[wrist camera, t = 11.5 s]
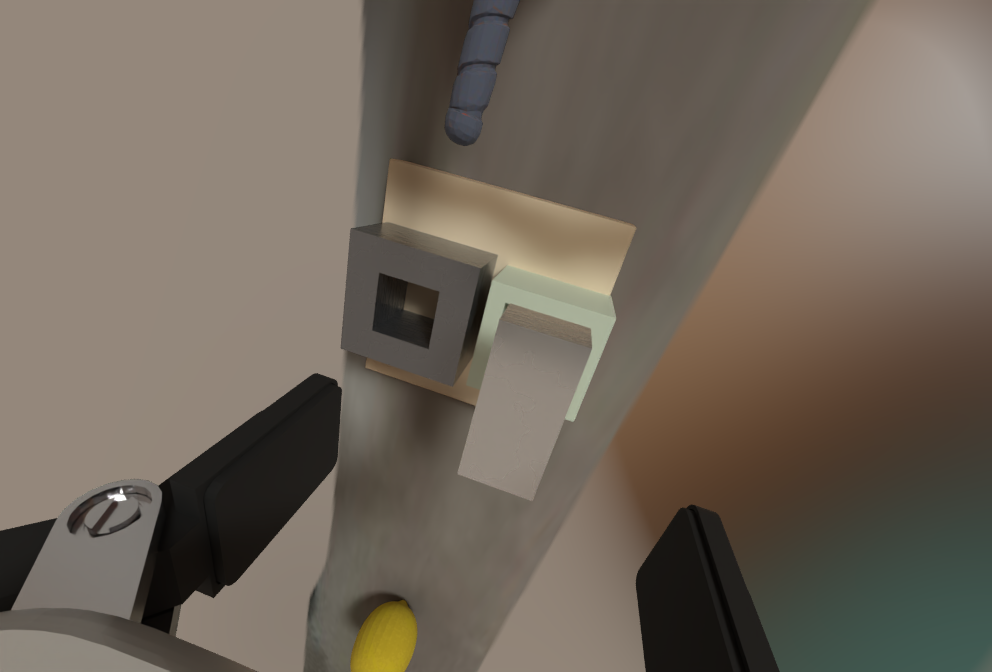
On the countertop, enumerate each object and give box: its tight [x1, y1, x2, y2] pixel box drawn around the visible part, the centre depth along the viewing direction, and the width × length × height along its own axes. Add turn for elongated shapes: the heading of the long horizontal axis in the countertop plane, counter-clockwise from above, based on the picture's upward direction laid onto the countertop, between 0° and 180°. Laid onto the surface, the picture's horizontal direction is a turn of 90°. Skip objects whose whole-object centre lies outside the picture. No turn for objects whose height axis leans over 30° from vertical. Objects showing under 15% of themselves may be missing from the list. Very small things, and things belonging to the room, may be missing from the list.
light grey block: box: [457, 303, 592, 501], centre depth 18 cm, size 7×3×10 cm, turn 166°
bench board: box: [365, 158, 637, 406], centre depth 24 cm, size 14×14×2 cm
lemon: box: [351, 600, 417, 672], centre depth 36 cm, size 6×6×8 cm
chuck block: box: [341, 222, 498, 387], centre depth 22 cm, size 7×7×4 cm
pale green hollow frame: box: [466, 265, 616, 422], centre depth 21 cm, size 6×6×4 cm
